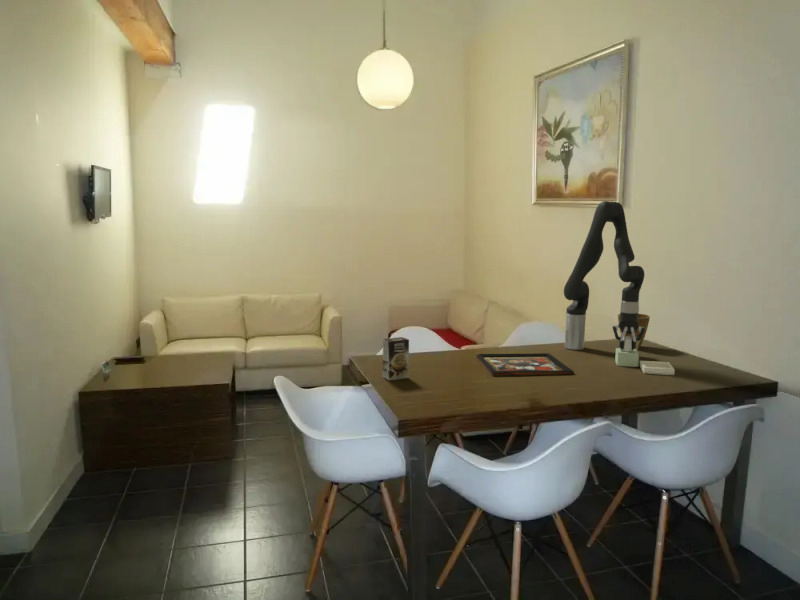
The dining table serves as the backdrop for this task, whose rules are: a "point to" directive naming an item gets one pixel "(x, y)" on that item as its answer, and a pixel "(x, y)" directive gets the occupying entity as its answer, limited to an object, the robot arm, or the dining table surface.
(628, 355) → the block
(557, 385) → the dining table surface
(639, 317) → the plant pot
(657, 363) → the tray
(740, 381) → the dining table surface
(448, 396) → the dining table surface
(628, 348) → the pin
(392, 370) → the food box
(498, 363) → the framed painting
